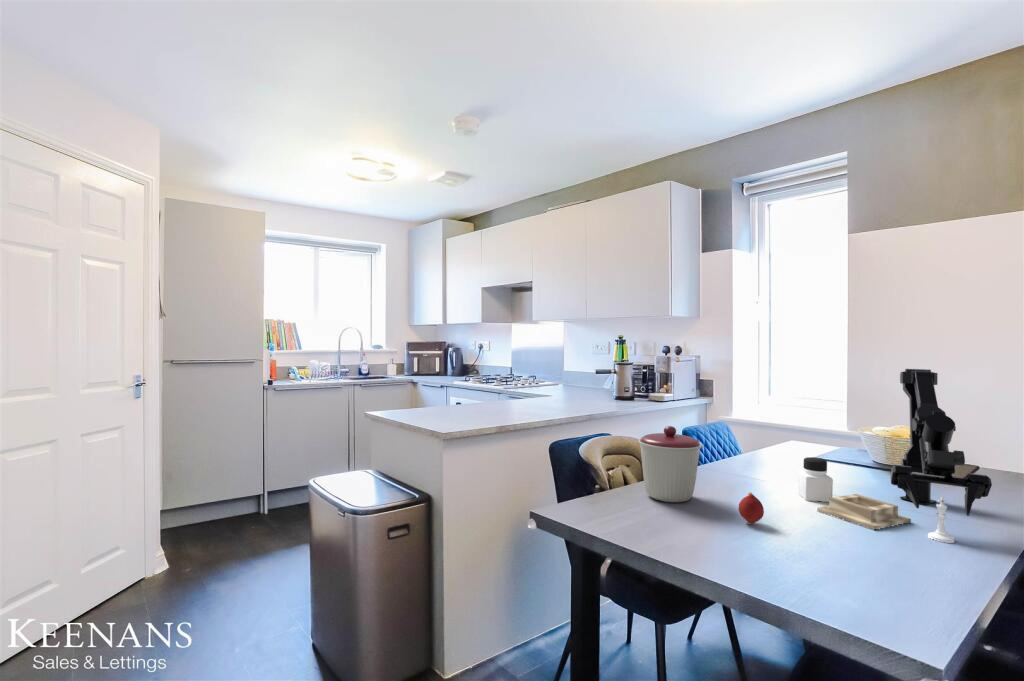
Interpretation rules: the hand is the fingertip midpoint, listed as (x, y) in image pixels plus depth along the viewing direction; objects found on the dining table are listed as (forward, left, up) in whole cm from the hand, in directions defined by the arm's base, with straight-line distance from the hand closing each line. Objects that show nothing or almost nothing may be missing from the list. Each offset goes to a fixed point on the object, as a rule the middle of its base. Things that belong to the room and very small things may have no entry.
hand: (942, 511), depth 122 cm
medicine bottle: (-2, -34, -7) cm, 34 cm away
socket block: (+1, -18, -7) cm, 19 cm away
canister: (+39, -50, -7) cm, 64 cm away
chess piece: (-1, -1, -7) cm, 7 cm away
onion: (+34, -25, -7) cm, 43 cm away
